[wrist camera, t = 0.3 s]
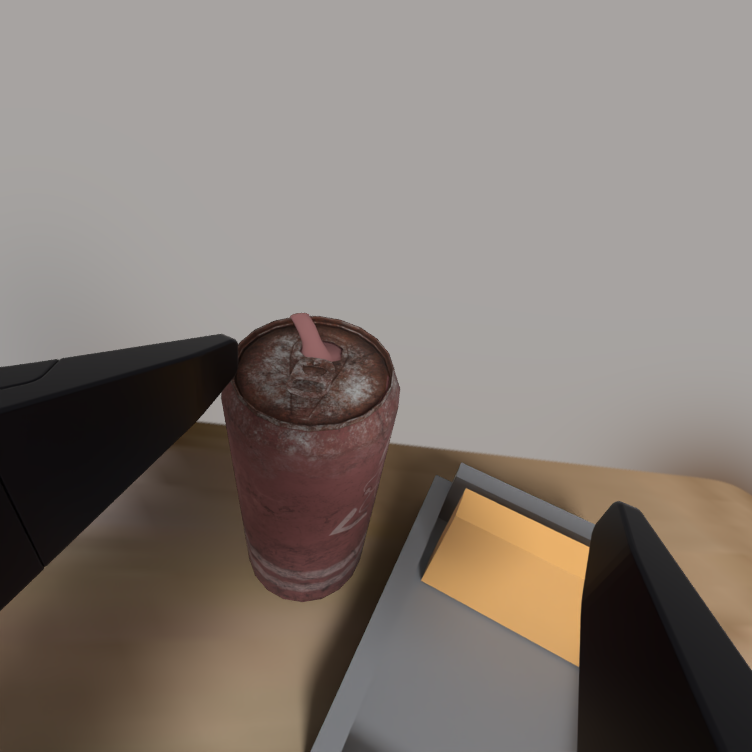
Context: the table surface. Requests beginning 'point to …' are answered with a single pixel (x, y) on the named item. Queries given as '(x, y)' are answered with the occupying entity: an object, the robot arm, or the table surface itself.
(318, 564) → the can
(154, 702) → the table surface
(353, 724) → the grey shallow open box
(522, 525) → the wedge
